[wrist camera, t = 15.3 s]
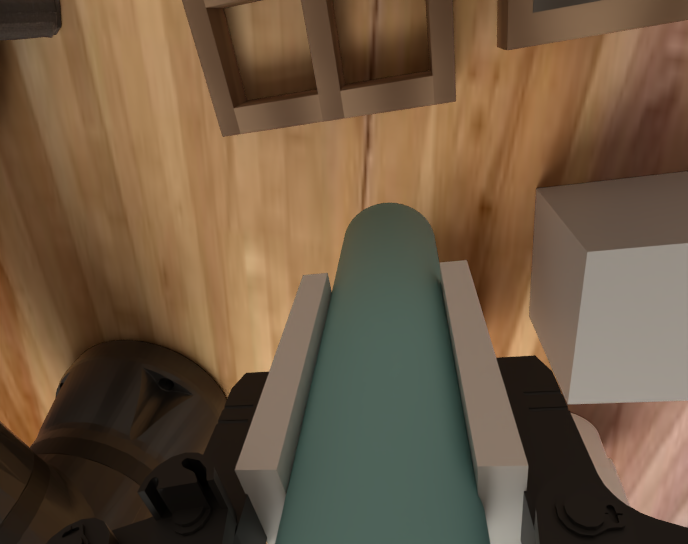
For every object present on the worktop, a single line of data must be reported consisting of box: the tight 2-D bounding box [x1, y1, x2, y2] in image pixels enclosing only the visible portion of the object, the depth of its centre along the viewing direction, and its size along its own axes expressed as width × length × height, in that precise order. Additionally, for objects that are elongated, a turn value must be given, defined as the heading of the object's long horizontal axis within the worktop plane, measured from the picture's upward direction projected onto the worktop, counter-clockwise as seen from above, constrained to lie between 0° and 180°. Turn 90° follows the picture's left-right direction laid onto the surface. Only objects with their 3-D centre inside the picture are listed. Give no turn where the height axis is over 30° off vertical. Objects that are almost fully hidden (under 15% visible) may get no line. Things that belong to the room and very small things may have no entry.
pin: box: [275, 203, 491, 544], centre depth 12 cm, size 4×4×12 cm
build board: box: [182, 0, 456, 137], centre depth 23 cm, size 13×8×2 cm, turn 99°
